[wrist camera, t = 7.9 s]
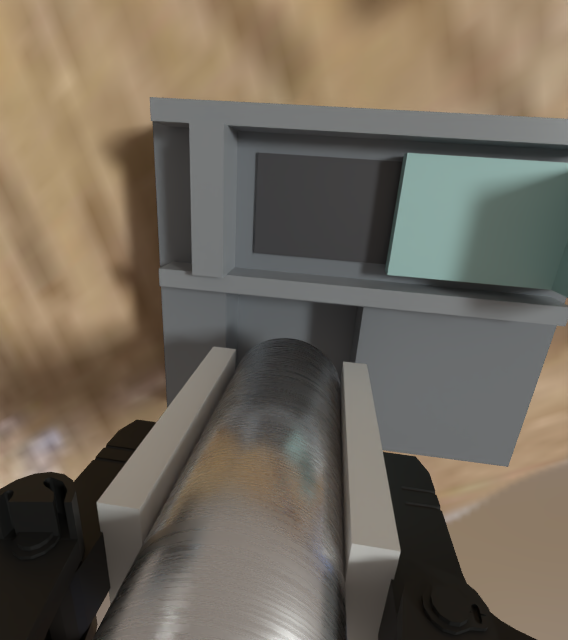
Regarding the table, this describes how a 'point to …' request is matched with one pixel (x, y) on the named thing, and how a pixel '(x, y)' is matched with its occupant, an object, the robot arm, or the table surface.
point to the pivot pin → (250, 516)
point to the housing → (345, 262)
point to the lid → (481, 221)
